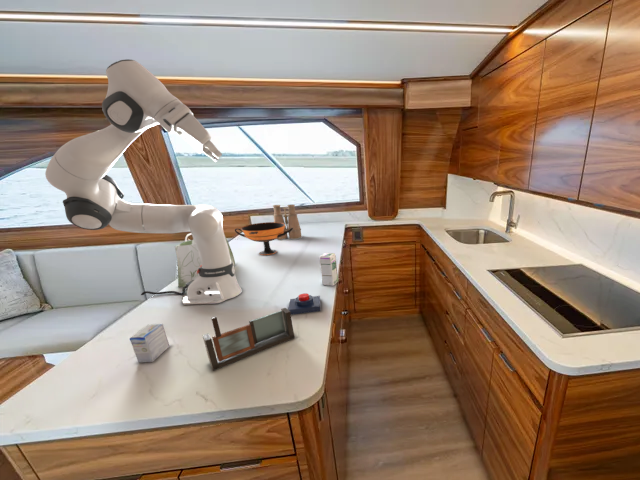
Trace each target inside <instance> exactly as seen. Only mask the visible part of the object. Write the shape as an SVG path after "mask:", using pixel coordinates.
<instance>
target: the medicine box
mask: <svg viewBox="0 0 640 480" xmlns="http://www.w3.org/2000/svg"><path fill="white" fill-rule="evenodd" d="M129 341H130V344H131V346H132V349H133V352H134V356H135V357H136V360H137V362H138V363H153V362H155V360H157V359H158V358H159V357H160V356H161V355H162V354H163V353H165V351H166V350H168V349H169V348H170V343H169V339H168V336H167V331H166V330H165V325H164V324H163V323H151V324H150V323H149V324H147V325H146V326H144V327H143V328H141V329H140V330H139V331H137V332H136V333H134V334H133V335H132V336H130V337H129Z"/></svg>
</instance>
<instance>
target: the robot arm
mask: <svg viewBox="0 0 640 480" xmlns="http://www.w3.org/2000/svg"><path fill="white" fill-rule="evenodd" d="M105 74H106V77H107V81H108V82H107V84H108V85H107V91H106V95H105V98H104V99H103V101H102V102H101V108H102V112H103V115H104V117H105V118H106V119H107V121H108V122H109V123H110V124H109V125H108V126H106V127H104V128H102V129H99V130H96V131H94V132H90V133H86V134H83V135H80V136H78V137H75V138H72V139H71V140H69V141H67V142H66V143H64V144H63V145H61V146H60V147H59V148H58V149H57V151H56V152H55V153H54V154H53V155H52V157H51V158H50V160H49V161H48V164H47V166H46V169H45V173H44V174H45V178H46V180H47V182H48V183H49V184H50V185H51V186H52V187H54V188H55V189H57V190H59V191H61V192H63V193H65V194H66V198H65V199H63V200H62V205H63V208H64V211H65V212H64V213H65V217H66V220H67V221H68V222H69V223H70V224H72V225H73V226H75V227H77V228H79V229H83V230H88V231H98V230H102V229H105V228H106V227H108V225H109V227H111V228H112V229H114V230H115V231H120V232H128V233H138V234H178V233H191V234H192V235H191V236H192V240H193V239H194V242H195V244H196V246H197V249H198V253H199V257H200V260H201V264H202V265H201V266H200V268H199V269H198V270H197V271H198V272H197V274H198V273H199V276H198V277H197V278H196V279H195V280H192V281H190V282H188V283H186V286H185V287H182V292H179V291H175V290H165V291H157V292H156V291H155V292H154V291H151V290H150V291H149V290H145V291H142V292H141V294H140V296H144V295H145V294H149V295H164V294H176V295H180V296H183V295H185V293H186V295H185V296H184V297H183V298H182V300H181V301H182V305H211V304H220V303H223V302H225V301H227V300H231V299H233V298H236V297H237V296H239V295H241V293H242V292H243V290H242V288H241V286H240V284H239V282H238V280H237V276H236V270H235V265H234V266H233V262H231V258H230V253H229V249H228V244H227V242H226V239H227V237H226V235H225V231H224V227H223V221H224V218H223V217H224V216H223V214H222V212H221V211H220V210H219V209H218V208H217V207H215V206H213V205H211V204H210V205H209V204H157V203H156V204H155V203H133V202H128V201H125V200H124V197H125V194H124V192H123V191H122V190H121V189H120V187H119V185H118V183H117V182H116V181H115V179H113V177H111V176H109V175H108V174H107V173H109V171H110V170H111V168H112V167H114V165H115V164H116V162H117V161H118V160H119V158H120V157H121V156H122V155H123V153H124V152H125V151H126V150H127V148H129V146H130V145H131V144H132V143H134V142H135V141H136V140H137V139H138V138H139V137H140V136H141V135H143V133H144V132H145V131H147V130H148V129H150V128H152V127H155V126H157V125H159V126H160V127H162V128H163V129H164V131H166V132H168V133H169V135H171V134H176V135H177V136H178V137H180V136H181V137H182V139H183V140H184V141H185V142H187V144H189V145H190V146H191V147H192V148H193V149H194V150H195V151H196V152H197V153H198V154H202V153H203V154H204V155H205V156H207V157H209V158H210V159H211V160H212V161H213V162H215V163H216V162H218V161H219V160H220V158H221V157H222V155H223V153H222V152H221V151H220V150H219V149H218V148H217V146H216V145H215V144H214V143H213V142H212V141H211V139H212V136H211V134H210V133H209V131H208V130H207V128H206V127H204V126H203V124H202V123H201V122H200V121H199V120H198V119H197V118H196V117H195V116H194V113H193V112H192V110H191V109H190V108H189V107H188V106H187V105H186V104H184V103H183V102H182V101H181V100H180V99H179V98H178V97H176V96H175V95H173V93H171V92H170V91H169V90H168V89H167V88H166V85H164V83H162V82H161V80H160V79H158V77H156V75H154V74H153V73H152V72H151V71H149V70H148V69H147V68H146V67H145V66H143V65H142V64H141V63H139V62H138V61H137V60H134V59H127V58H126V59H121V60H120V59H119V60H118V61H115V62H113V63H111V64H110V65H108V66H107V68H106V69H105ZM225 237H226V238H225Z"/></svg>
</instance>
